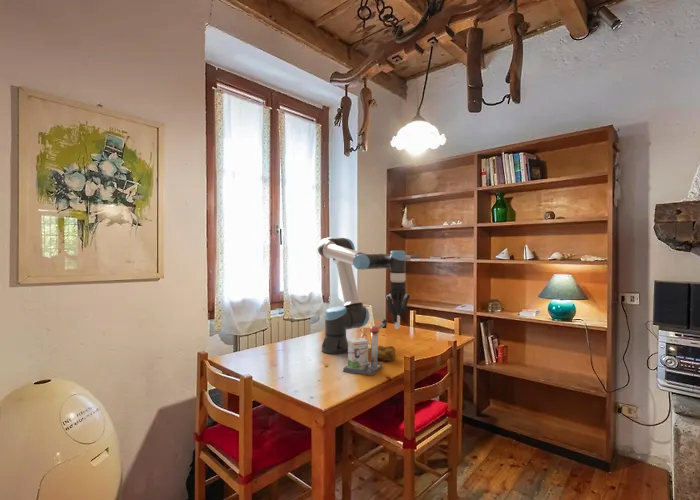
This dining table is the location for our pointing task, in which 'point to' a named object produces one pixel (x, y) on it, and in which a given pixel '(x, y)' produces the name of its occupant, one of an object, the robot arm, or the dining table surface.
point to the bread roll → (386, 353)
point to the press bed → (372, 365)
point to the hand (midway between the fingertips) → (397, 328)
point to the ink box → (357, 352)
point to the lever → (379, 326)
